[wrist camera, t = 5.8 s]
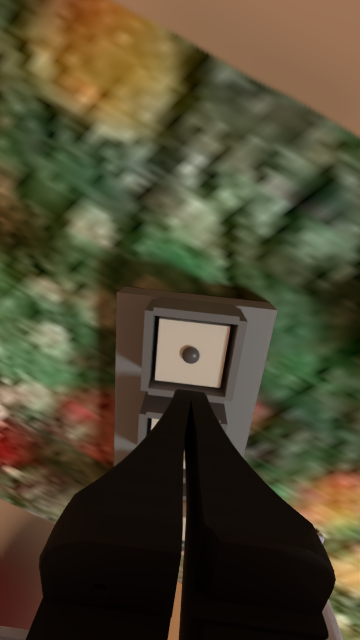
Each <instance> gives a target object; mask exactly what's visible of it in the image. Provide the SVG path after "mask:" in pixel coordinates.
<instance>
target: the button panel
mask: <svg viewBox="0 0 360 640" xmlns="http://www.w3.org/2000/svg"><path fill="white" fill-rule="evenodd" d="M276 314H277V309H276V308H275V307H274V306H273V305H272V304H271V303H270V302H261V301H252V300H243V299H234V298H225V297H216V296H207V295H197V294H188V293H179V292H170V291H161V290H152V289H143V288H134V287H125V286H124V287H123V288H122V289H121V290H119V291H118V292H117V309H116V367H115V426H114V466H116V465H117V464H118V463H119V462H121V461H122V460H123V459H124V458H125V457H126V456H127V455H128V454H129V453H130V452H131V451H133V450H134V449H135V448H136V447H137V446H138V445H139V444H140V443H141V441H142V440H143V439H144V438H145V437H146V436H147V435H148V434H149V432H150V431H151V425H152V419H160V418H161V417H162V415H163V413H164V412H165V410H166V409H167V407H168V405H169V404H170V402H171V400H172V398H173V395H174V392H175V390H177V389H182V390H191V391H199V392H205V394H206V395H207V398H208V400H209V403H210V405H211V407H212V409H213V411H214V413H215V415H216V417H217V419H218V421H219V423H220V424H221V426H222V428H223V430H224V431H225V433H226V434H227V436H228V437H229V439H230V441H231V442H232V443H233V445H234V446H235V448H236V449H237V451H238V452H239V453H240V454H241V456H242V457H243V456H244V452H245V447H246V443H247V439H248V435H249V430H250V426H251V422H252V417H253V413H254V409H255V405H256V400H257V396H258V392H259V387H260V383H261V379H262V374H263V370H264V366H265V362H266V357H267V353H268V349H269V344H270V340H271V336H272V332H273V327H274V323H275V319H276ZM160 316H164V317H173V318H182V319H191V320H200V321H209V322H218V323H227V324H230V326H231V327H230V333H229V339H228V345H227V350H226V356H225V362H224V368H223V373H222V379H221V385H220V388H217V387H209V386H200V385H192V384H183V383H175V382H167V381H158V380H155V371H156V358H157V345H158V332H159V319H160ZM183 501H186V478H185V469H184V468H183Z"/></svg>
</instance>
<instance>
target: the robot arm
mask: <svg viewBox="0 0 360 640" xmlns="http://www.w3.org/2000/svg"><path fill="white" fill-rule="evenodd" d="M184 449H185V478H186V525H185V544H184V562H183V579H182V596H181V613H180V629H179V640H343V638H342V635H341V632H340V629H339V626H338V624H337V621H336V618H335V615H334V612H333V610H332V607H331V604H330V601H329V597H330V595H331V593H332V591H333V588H334V584H335V581H336V579H335V574H334V570H333V567H332V565H331V562H330V560H329V557H328V555H327V552H326V550H325V548H324V546H323V542H324V537H323V535H322V534H321V533H317V532H316V530H315V528H314V526H313V524H312V523H310V522H309V521H308V520H307V519H306V518H304V517H303V516H302V515H301V514H299V513H298V512H297V511H296V510H295V509H293V508H292V507H291V506H290V505H289V504H287V503H286V502H285V501H284V500H283V499H282V498H281V497H280V496H279V495H277V494H276V493H275V492H274V491H273V490H272V489H271V488H270V487H269V486H268V485H267V484H266V483H265V482H264V481H263V480H262V479H261V478H260V477H259V475H258V474H257V473H256V472H255V471H254V470H253V469H252V468H251V467H250V466H249V464H248V463H247V462H246V461H245V460H244V458H243V457H242V456H241V454H240V453H239V452H238V451H237V449H236V448H235V446H234V445H233V443H232V442H231V441H230V439H229V437H228V436H227V434H226V433H225V431H224V430H223V428H222V426H221V424H220V423H219V421H218V419H217V417H216V415H215V413H214V411H213V409H212V407H211V405H210V403H209V400H208V398H207V395H206V394H205V392H199V391H191V390H182V389H177V390H175V392H174V395H173V398H172V400H171V402H170V404H169V405H168V407H167V409H166V410H165V412H164V413H163V415H162V417H161V418H160V419H159V421H158V422H157V423H156V425H155V426H154V427H153V429H152V430H151V431H150V432H149V434H148V435H147V436H146V437H145V438H144V439H143V440H142V441H141V443H140V444H139V445H138V446H137V447H136V448H135V449H134V450H133V451H131V452H130V453H129V454H128V455H127V456H126V457H125V458H124V459H123V460H122V461H121V462H119V463H118V464H117V465H116V466H114V467H113V468H112V469H111V470H109V471H108V472H107V473H106V474H104V475H103V476H102V477H100V478H99V479H97V480H96V481H94V482H93V483H91V484H90V485H88V486H87V487H85V488H84V489H82V490H81V491H79V492H78V493H76V494H75V495H74V496H73V498H72V499H71V501H70V502H69V503H68V505H67V506H66V508H65V509H64V511H63V513H62V514H61V516H60V518H59V519H58V521H57V523H56V524H55V526H54V528H53V530H52V532H51V534H50V536H49V538H48V541H47V543H46V545H45V547H44V549H43V551H42V553H41V555H40V561H39V570H40V576H41V585H42V592H43V599H42V601H41V604H40V606H39V608H38V611H37V613H36V616H35V618H34V620H33V623H32V625H31V628H30V630H25V629H18V628H11V627H4V626H0V640H167V639H168V633H169V626H170V619H171V617H172V611H173V605H174V598H175V592H176V585H177V579H178V573H179V566H180V560H181V553H182V536H183V465H184Z"/></svg>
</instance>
